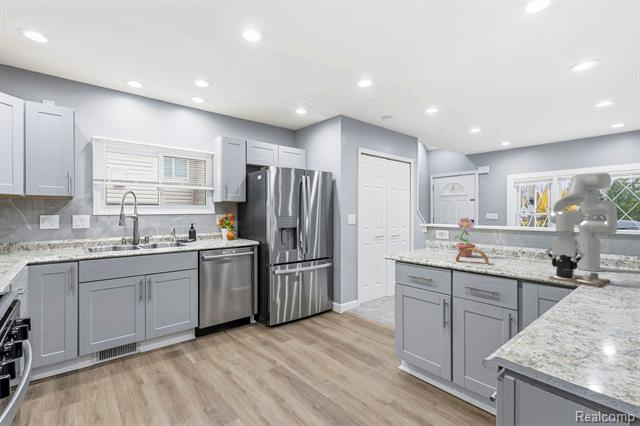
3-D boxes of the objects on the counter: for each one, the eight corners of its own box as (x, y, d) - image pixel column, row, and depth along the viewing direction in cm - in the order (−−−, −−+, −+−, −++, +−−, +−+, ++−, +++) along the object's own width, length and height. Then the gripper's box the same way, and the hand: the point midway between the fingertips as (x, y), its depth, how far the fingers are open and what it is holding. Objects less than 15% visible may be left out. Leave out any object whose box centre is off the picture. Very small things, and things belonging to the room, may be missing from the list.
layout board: (562, 274, 171) (562, 267, 171) (610, 281, 154) (610, 273, 154) (548, 279, 160) (549, 271, 160) (598, 287, 144) (599, 278, 144)
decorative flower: (455, 257, 231) (455, 218, 231) (453, 254, 244) (453, 217, 244) (477, 258, 227) (477, 218, 226) (473, 255, 240) (473, 217, 239)
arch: (487, 265, 200) (487, 250, 200) (455, 261, 212) (455, 247, 212) (489, 263, 204) (489, 249, 204) (457, 260, 217) (457, 246, 217)
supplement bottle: (566, 278, 155) (567, 255, 154) (552, 275, 161) (553, 253, 161) (576, 278, 156) (577, 255, 156) (562, 275, 163) (563, 253, 163)
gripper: (588, 235, 153) (587, 270, 154) (547, 233, 168) (547, 264, 168) (583, 236, 149) (583, 271, 149) (542, 233, 164) (541, 266, 164)
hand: (564, 267), depth 159 cm, fingers open, 7 cm apart
